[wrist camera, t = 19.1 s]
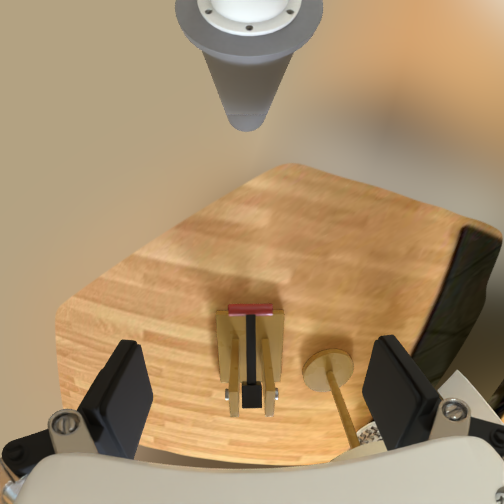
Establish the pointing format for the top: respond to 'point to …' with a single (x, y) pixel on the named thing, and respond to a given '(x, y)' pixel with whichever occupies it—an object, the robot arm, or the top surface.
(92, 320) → the top surface
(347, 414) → the table lamp
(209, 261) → the top surface
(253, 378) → the switch lever
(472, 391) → the milk
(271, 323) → the switch bracket
